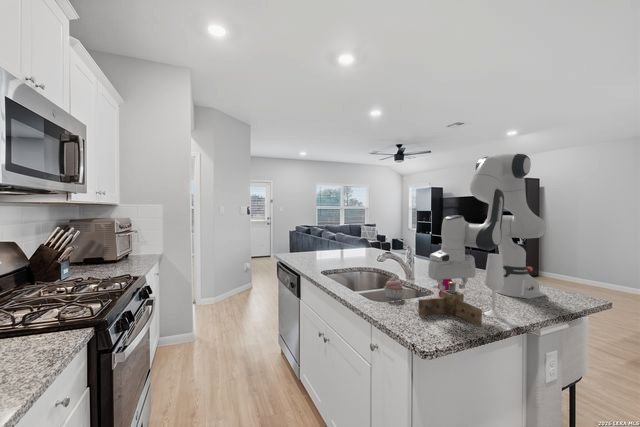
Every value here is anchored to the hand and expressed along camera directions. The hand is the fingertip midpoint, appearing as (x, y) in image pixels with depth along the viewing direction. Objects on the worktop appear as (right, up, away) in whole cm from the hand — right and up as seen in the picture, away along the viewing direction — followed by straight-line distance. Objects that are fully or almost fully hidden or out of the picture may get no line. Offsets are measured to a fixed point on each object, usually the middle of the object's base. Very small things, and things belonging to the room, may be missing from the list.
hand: (452, 289), depth 118 cm
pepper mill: (+7, -9, +22) cm, 24 cm away
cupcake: (-19, -9, +18) cm, 28 cm away
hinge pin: (0, -6, 0) cm, 6 cm away
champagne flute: (+15, -10, -2) cm, 18 cm away
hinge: (-4, -9, -7) cm, 13 cm away
